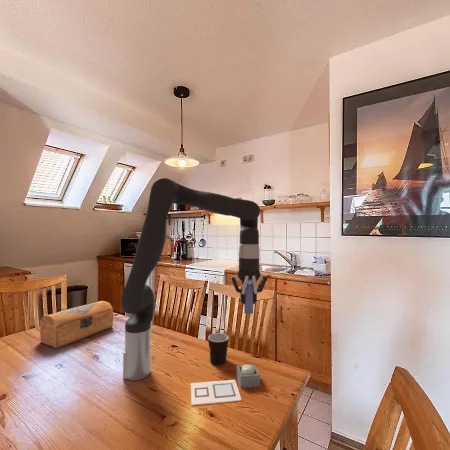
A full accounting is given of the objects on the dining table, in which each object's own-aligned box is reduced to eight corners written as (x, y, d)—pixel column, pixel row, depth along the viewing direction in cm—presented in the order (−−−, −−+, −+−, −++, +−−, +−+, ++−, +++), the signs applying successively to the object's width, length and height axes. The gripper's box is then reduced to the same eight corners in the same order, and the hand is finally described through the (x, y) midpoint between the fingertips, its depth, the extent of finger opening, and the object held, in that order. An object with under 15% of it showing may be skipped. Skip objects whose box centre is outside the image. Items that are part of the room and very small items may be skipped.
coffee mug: (226, 368, 101) (226, 342, 101) (205, 365, 102) (205, 340, 103) (231, 354, 112) (231, 331, 112) (212, 352, 114) (212, 329, 114)
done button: (243, 384, 90) (243, 371, 90) (240, 377, 94) (240, 364, 94) (255, 383, 90) (255, 370, 90) (252, 376, 95) (252, 364, 95)
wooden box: (56, 350, 115) (57, 319, 115) (38, 341, 123) (39, 312, 123) (115, 327, 141) (115, 302, 141) (97, 322, 149) (97, 298, 149)
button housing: (240, 388, 88) (240, 376, 88) (236, 376, 95) (236, 365, 95) (259, 386, 89) (259, 375, 89) (254, 375, 96) (254, 364, 96)
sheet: (191, 405, 79) (191, 404, 79) (190, 384, 90) (190, 382, 90) (241, 401, 82) (241, 399, 82) (235, 380, 93) (235, 379, 93)
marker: (245, 314, 90) (245, 279, 91) (243, 311, 93) (243, 278, 94) (254, 313, 91) (254, 279, 91) (252, 311, 94) (252, 278, 95)
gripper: (231, 257, 88) (231, 307, 88) (270, 257, 90) (270, 306, 90) (228, 255, 95) (227, 301, 95) (264, 255, 98) (264, 300, 97)
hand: (248, 303), depth 93 cm, fingers closed on marker, 3 cm apart
